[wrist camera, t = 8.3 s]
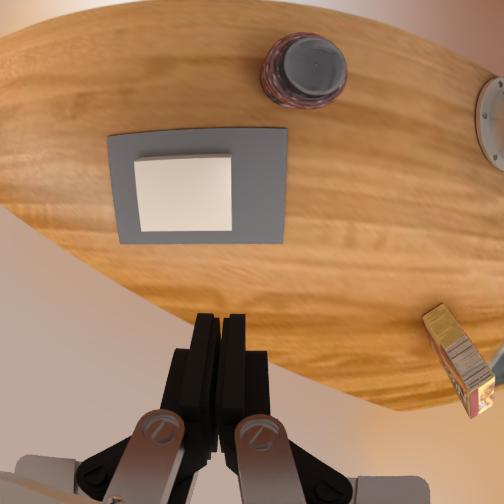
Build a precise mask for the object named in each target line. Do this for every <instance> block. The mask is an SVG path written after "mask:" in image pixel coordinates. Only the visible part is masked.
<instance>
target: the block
mask: <svg viewBox="0 0 504 504" xmlns="http://www.w3.org/2000/svg"><path fill="white" fill-rule="evenodd" d="M134 169H135V180H136V190H137V200H138V208H139V217H140V225H141V232H144V231H232V224H233V208H232V154H194V155H172V156H155V157H142V158H140V159H138V160H136V161H135V162H134Z"/></svg>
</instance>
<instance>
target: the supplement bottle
mask: <svg viewBox="0 0 504 504" xmlns="http://www.w3.org/2000/svg"><path fill="white" fill-rule="evenodd" d="M347 76H348V72H347V65H346V61H345V58H344V56H343V54H342V52H341V51H340V50H339V49H338V48H337V47H336V46H335V45H334V44H333V43H332V42H331V41H329V40H328V39H326V38H324V37H322V36H320V35H317V34H313V33H306V32H302V33H294V34H291V35H288V36H286V37H284V38H282V39H280V40H279V41H278V42H276V43H275V44H274V45H273V47H272V48H271V49H270V51H269V53H268V55H267V56H266V59H265V61H264V63H263V65H262V68H261V72H260V82H261V86H262V88H263V90H264V92H265V93H266V95H267V96H268V97H269V98H270V99H271V100H272V101H273V102H275V103H277V104H279V105H281V106H284V107H289V108H299V109H316V108H320V107H323V106H326V105H328V104H330V103H332V102H333V101H334V100H336V99H337V98H338V97H339V95H340V94H341V93H342V92H343V90H344V88H345V85H346V82H347Z"/></svg>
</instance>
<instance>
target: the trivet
mask: <svg viewBox="0 0 504 504" xmlns="http://www.w3.org/2000/svg"><path fill="white" fill-rule="evenodd" d="M287 142H288V129H285V128H202V129H181V130H166V131H153V132H142V133H132V134H123V135H114V136H108V137H107V143H108V155H109V166H110V176H111V185H112V193H113V201H114V208H115V215H116V222H117V228H118V234H119V240H120V244H283V234H284V215H285V194H286V170H287ZM194 154H232V208H233V224H232V231H144V232H141V225H140V217H139V208H138V200H137V190H136V180H135V169H134V162H135V161H136V160H138V159H140V158H142V157H155V156H172V155H194Z"/></svg>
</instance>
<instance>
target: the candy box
mask: <svg viewBox="0 0 504 504" xmlns="http://www.w3.org/2000/svg"><path fill="white" fill-rule="evenodd" d="M422 318H423V321H424V324H425V327H426V331H427V334H428V337H429V341H430V344H431V347H432V349H433V351H434V353H435V354H436V356H437V358H438V359H439V361H440V363H441V365H442V366H443V368H444V370H445V372H446V374H447V375H448V377H449V379H450V381H451V383H452V385H453V387H454V388H455V390H456V392H457V394H458V396H459V398H460V400H461V402H462V403H463V406H464V408H465V410H466V411H467V414H468V416H469V418H470V419H472V418H473V417H475V416H477V415H478V414H480V413H481V412H483V411H484V410H486V409H487V408H489V407H490V406H491V405H493V399H494V385H495V375H494V374H493V372H492V371H491V369H490V368H489V366H488V365H487V363H486V362H485V360H484V359H483V357H482V356H481V354H480V353H479V351H478V350H477V349H476V347H475V346H474V344H473V343H472V341H471V340H470V339H469V337H468V336H467V334H466V333H465V332H464V330H463V329H462V327H461V326H460V325H459V323H458V322H457V321H456V319H455V318H454V317H453V315H452V314H451V313H450V311H449V310H448V309H447V307H446V306H445V305H444V304H443V303H442V304H440V305H439V306H438V307H436V308H435V309H433V310H432V311H430V312H428V313H427V314H425V315H424V316H422Z"/></svg>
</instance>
